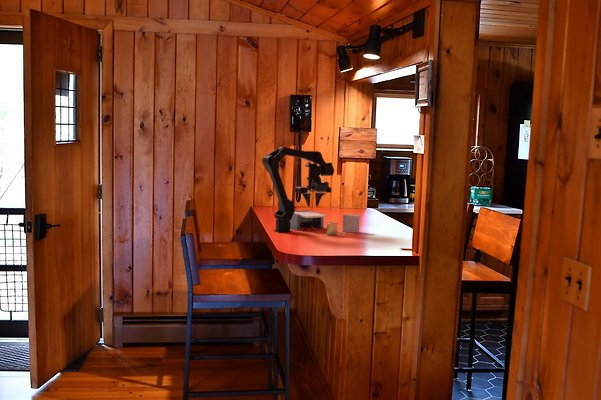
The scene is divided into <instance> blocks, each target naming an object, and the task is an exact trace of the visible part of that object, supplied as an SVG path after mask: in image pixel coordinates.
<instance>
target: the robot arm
mask: <svg viewBox="0 0 601 400" xmlns="http://www.w3.org/2000/svg"><path fill="white" fill-rule="evenodd" d="M285 156H290V157H294V158H299V159H300V158H301V159H303V160H304V161H307V163H306V164H305V165H304V167H307V168H308V175H307V177H306V180H307V185H306V186H296V187H295V188H294V192H295V193H298V194H300V195H302V196H303V198H304V200H305V202H306V206H307V207H308V208H310V207H311V206H310V205H311V197H312V193H313V192H314V198H315V199H314V200H315V207H317V208H318V207H319V205H320V202H321V199H322V197H323V196H324V195H326V194H328V193H332V192H333V191H332V187H330V186H329V185H330V184H329V181H324V182H323V181H322V178H321V177H331V176H333V175H334V174H335V168H334V165H333V163H332V162H326V161H325V159H324V157H323V154H322V152H321V151H318V150H302V149H296V148H295V149H294V148H290V147H286V146H279V147H278V148H276V149H275V150H273V151H272V152H270V153H268V154H266V155H264V156H263V157H262V158H261V162H262V165H263V167H264V169H265V170H266V171H267V173H268V174H269V176H270V179H271V182H272V185H273V188H274V191H275V194H276V197H277V210H276V212H274V214H273V216H274V219H275V229H273V231H274V232H277V233H292V230H291V229H290V220H291V219H292V216H293V214H294V212H295V211H296V206H295V204H294V200H292V199H289V197H288V195H287V192H286V189H285V186H284V184H283V180H282V177H281V174H280V162H281V161H283V159H284V158H285ZM320 176H321V177H320ZM311 192H312V193H311Z"/></svg>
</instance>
